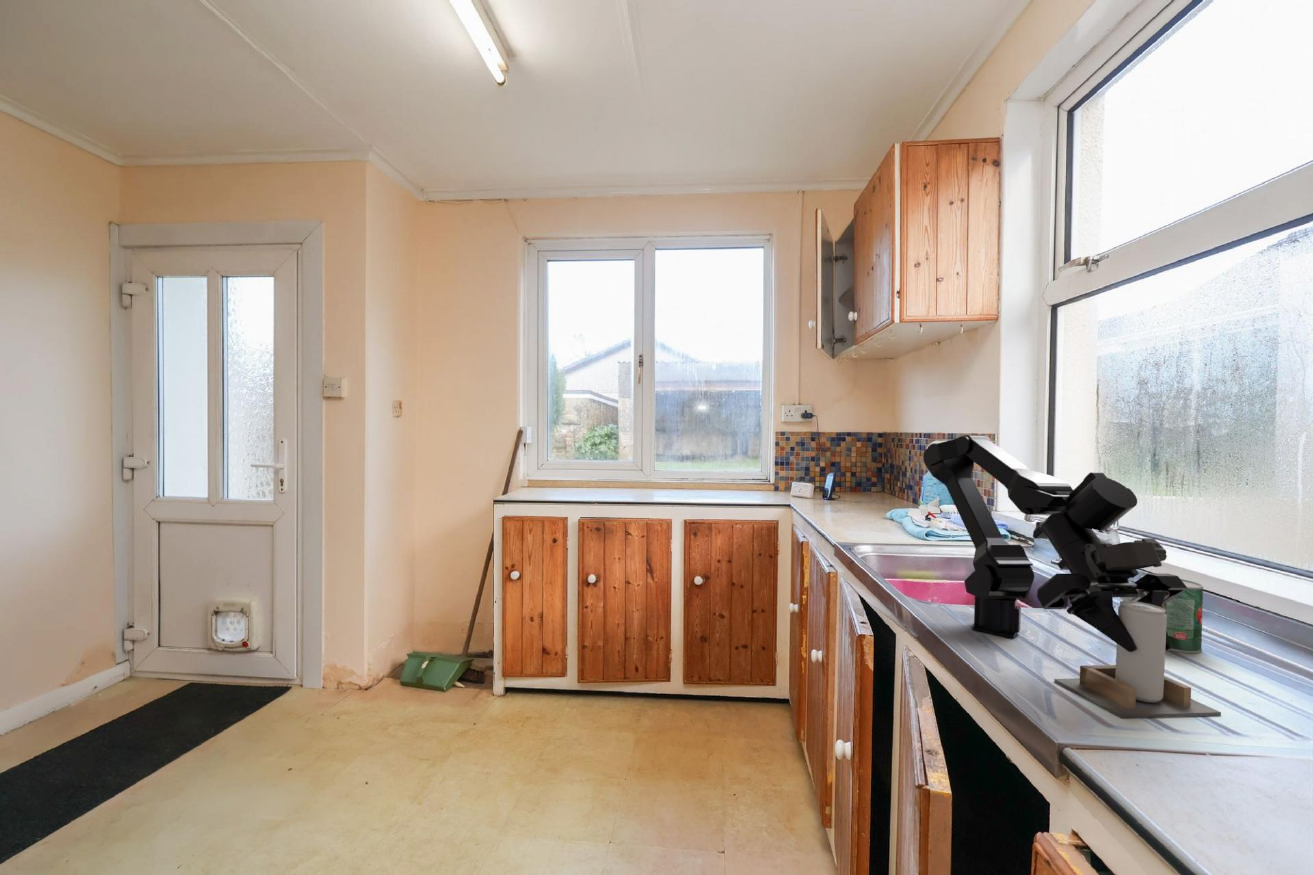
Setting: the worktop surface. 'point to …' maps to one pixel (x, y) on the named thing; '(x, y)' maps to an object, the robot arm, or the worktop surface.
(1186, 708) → the keeper
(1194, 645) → the canned tomato
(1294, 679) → the worktop surface
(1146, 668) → the beverage can
